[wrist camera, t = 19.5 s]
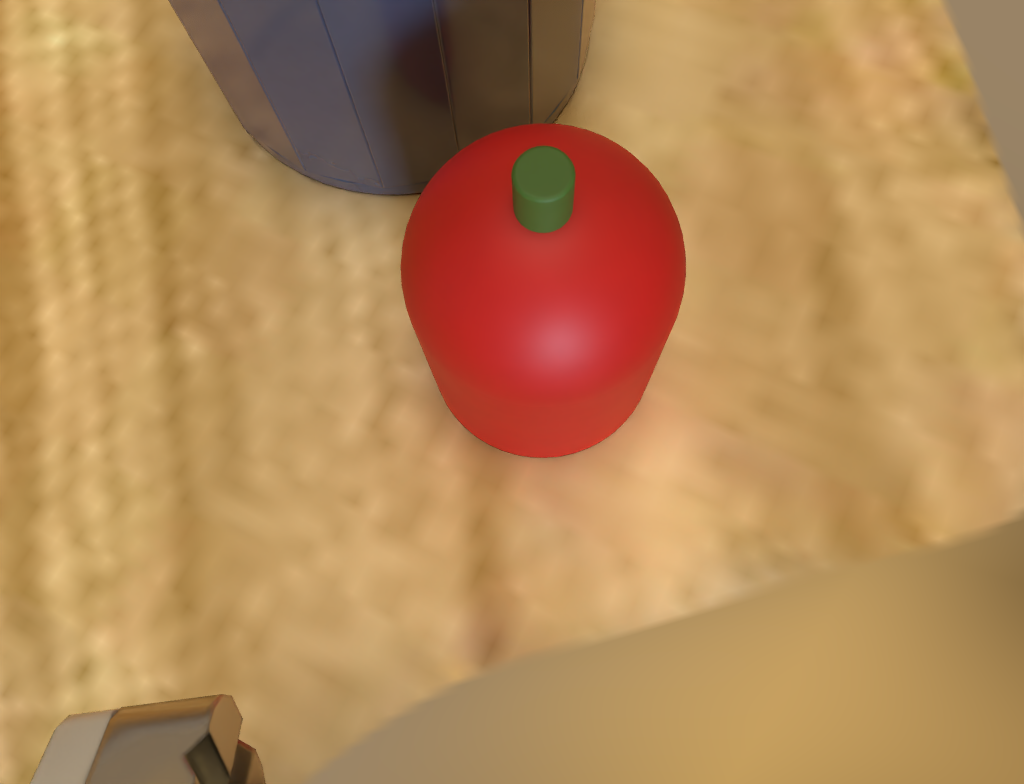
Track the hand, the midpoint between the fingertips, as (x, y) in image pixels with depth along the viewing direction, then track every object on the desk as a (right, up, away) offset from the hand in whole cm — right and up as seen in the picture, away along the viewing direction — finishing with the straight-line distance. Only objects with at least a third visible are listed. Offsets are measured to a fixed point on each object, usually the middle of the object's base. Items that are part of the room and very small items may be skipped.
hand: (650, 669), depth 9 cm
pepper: (-1, +4, +11) cm, 12 cm away
